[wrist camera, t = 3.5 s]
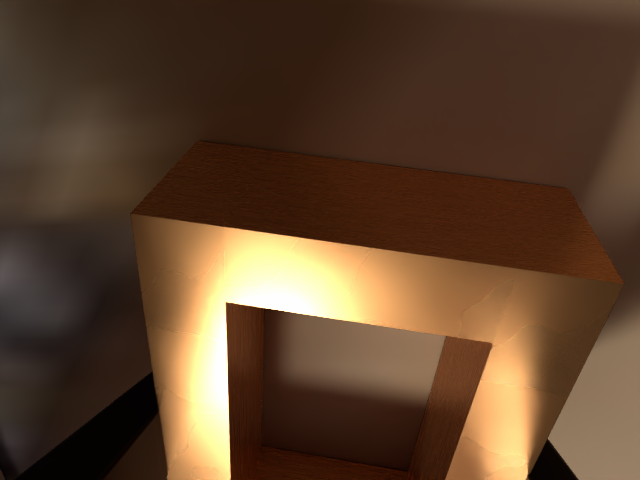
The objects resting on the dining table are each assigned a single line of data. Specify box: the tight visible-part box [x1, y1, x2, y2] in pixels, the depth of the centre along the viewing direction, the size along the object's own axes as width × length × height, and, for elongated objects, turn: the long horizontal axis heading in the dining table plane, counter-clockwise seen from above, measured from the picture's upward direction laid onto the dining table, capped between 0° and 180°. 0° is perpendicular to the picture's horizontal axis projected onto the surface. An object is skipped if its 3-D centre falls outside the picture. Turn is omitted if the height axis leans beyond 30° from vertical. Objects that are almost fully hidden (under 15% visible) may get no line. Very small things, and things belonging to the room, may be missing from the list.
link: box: [130, 141, 624, 480], centre depth 10 cm, size 9×6×2 cm, turn 176°
